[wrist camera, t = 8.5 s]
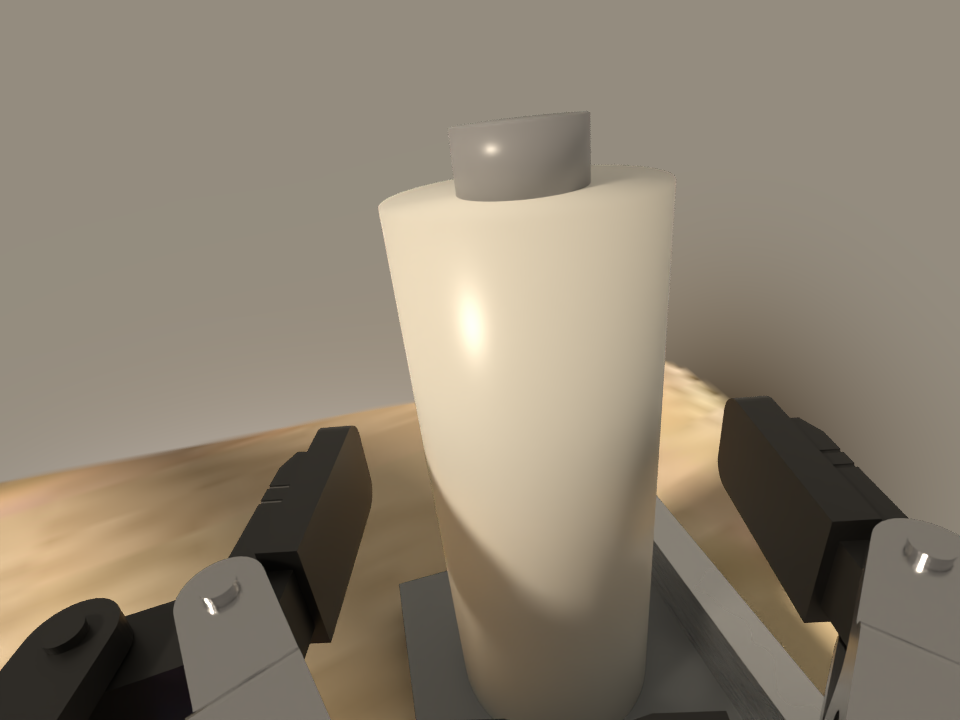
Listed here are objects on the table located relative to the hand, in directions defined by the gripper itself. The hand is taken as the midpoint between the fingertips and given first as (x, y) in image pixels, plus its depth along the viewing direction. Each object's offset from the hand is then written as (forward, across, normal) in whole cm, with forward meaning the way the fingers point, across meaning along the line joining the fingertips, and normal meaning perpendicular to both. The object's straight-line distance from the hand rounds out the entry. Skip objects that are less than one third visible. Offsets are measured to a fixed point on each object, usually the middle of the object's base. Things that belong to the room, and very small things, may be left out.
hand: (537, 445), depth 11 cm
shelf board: (-8, -3, +10) cm, 13 cm away
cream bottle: (+1, 0, +9) cm, 9 cm away
